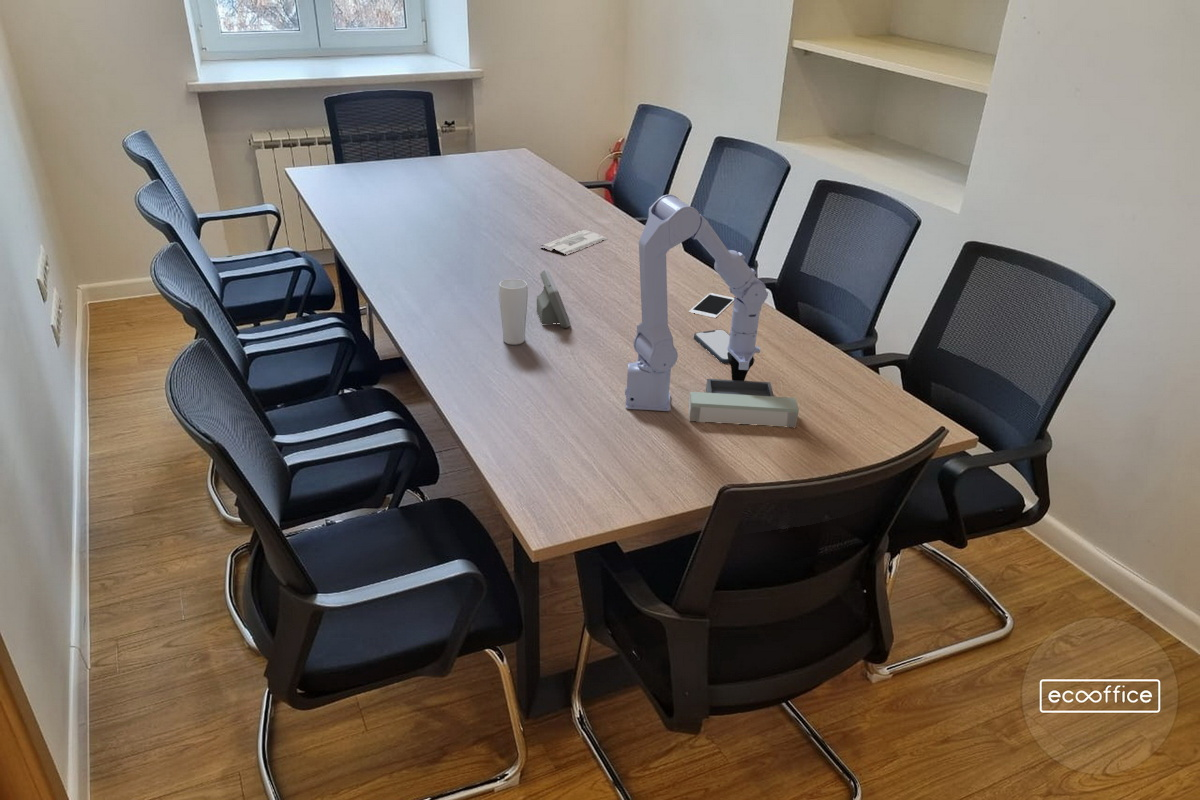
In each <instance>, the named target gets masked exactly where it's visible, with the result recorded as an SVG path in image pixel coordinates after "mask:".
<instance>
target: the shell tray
mask: <svg viewBox="0 0 1200 800" xmlns="http://www.w3.org/2000/svg"><path fill="white" fill-rule="evenodd" d="M706 392H707V393H721V394H738V395H756V396H773V397H775V396H774V391H773V387H772V383H771V381H757V380H756V381H754V380H744V381H740V380H732V379H720V378H719V379H718V378H706V387H705V393H706Z"/></svg>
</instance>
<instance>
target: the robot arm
mask: <svg viewBox="0 0 1200 800" xmlns="http://www.w3.org/2000/svg"><path fill="white" fill-rule="evenodd" d="M690 238H691V239H692V240H697V241H698V242H699V243H700V244H701V246H702V247H703V248H704V249H705V250H706V251H707V252H708V253H709V255H710V256H711V257H712V258H713V259H714V261H715V262H714V265H713V266H714V267H713V268H714V270H715V272H716V273H717V274H718V276H719V277H720V278H721V279H722V280H723V281H724V283H725V284H726V285H727V286H728V288H729V291H730V293H731V294H732V295H733V296H734V297H733V298H734V301H733V303H732V304H733V307H732V315H731V324H730V332H729V335H730V339H729V345H728V351H729V352H728V353H727V355H728V361H729V363H728V364H729V366H730V371H731V373H730V374H731V380H740V381H746V377H747V374H748V372H749V370H750V369H751V367H752V366H753V365H754V363H755V359H754V355H755V354H759V353H760V352H761V347H760V346H758V345H757V346H756V343H757V337H758V336H757V335H758V329H759V321H760V312H761V310H762V305H763V304H764V303H765V302H766V300H767V299H768V296H769V292H768V291H767V286H766V284H765V283H764V282H763V281H761V280H760V279H759V278H757V277H756V274H757V272H756V270H755V269H754V268H750V266H749V265H748V263H746V261H745V260H746V256H745V255H744V253H742V252H740V251H737V250H733V249H728V248H727V246H726V245H725V244H724V243H723V241H722V240H721V238H720V236H718V234H717V233H716V232H715V230H714V228H713V227H712V226H711V224H710V222H709V221H708V220H707V219H706V218H705V217H704V216H703V215H702V214H701V213H700V212H699V211H698V210H697V208H695V207H693V206H690V205H688V204H687V203H685V202H684V201H682V200H680V199H679V197H677V196H676V195H674V194H664V195H661V196H660V197H659V198H658V199H656V201H655V202H653V203H652V204H651V206H649V208H648V218H647V220H646V223H645V225H644V227H643V230H642V232H641V235H640V237H639V241H638V254H639V255H638V256H639V259H638V260H639V278H640V279H639V281H640V283H639V284H640V300H641V302H640V305H641V306H640V307H641V308H640V309H641V323H638V325H637V326H636V335H635V337H634V339H633V348H634V350H635V352H636V354H637V361H635V362H628V363H627V377H626V386H625V387H624V389H625V390H624V396H625V398H626V399H625V409H627V410H640V411H641V410H643V411H644V410H645V411H657V412H658V411H660V412H661V411H662V412H670V411H671V392H670V386H671V374H672V373H671V372H672V368H673V367H674V366H675V365H676V363H677V361H678V357H679V355H678V350H677V349H676V347H675V344H674V338H673V335H672V332H671V329H670V327H669V317H668V315H669V314H668V312H669V311H668V282H667V281H668V279H667V278H668V275H667V274H668V273H667V253H668V252H669V251H670V250H671V249H673V248H674V247H676V246H678V245H680V244H682V243H683V242H685V241H686V240H688V239H690Z"/></svg>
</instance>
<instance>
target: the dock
mask: <svg viewBox="0 0 1200 800" xmlns="http://www.w3.org/2000/svg"><path fill="white" fill-rule="evenodd" d="M799 411H800V409H799V406H798V402H797V398H796V397H787V396H774V397H773V396H756V395H738V394H721V393H706V392H702V391H689V401H688V416H689V417H688V418H690V420H689V422H690V421H696V422H695V423H705V422H721V423H720V424H722V423H740V424H757V425H773V426H787V427H786V428H789V427H797V423H798V418H799V417H798V416H799Z"/></svg>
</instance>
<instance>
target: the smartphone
mask: <svg viewBox="0 0 1200 800" xmlns="http://www.w3.org/2000/svg"><path fill="white" fill-rule="evenodd" d="M693 339H694V340H695V341H696V342H697V343H698V344H699V343H700V344H701V345H700V346H702V348H704V350H706V349H707V350H706V351H707V352H708V351H709V352H710V353H709V352H708V353H709V354H710V355H711V356H713V355H714V356H715V357H714V356H713V357H714V358H715V359H716V358H717V359H718V360H719V361H718V360H717V359H716V360H717V361H718V362H720V363H721V362H722V363H721V364H725V363H727V364H729V361H728V355H727V353H728V352H729V351H728V345H729V339H730V333H728V332H727V331H726V330H724V329H714V330H713V329H712V330H706V331H699V332H695V333H694V334H693Z"/></svg>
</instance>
